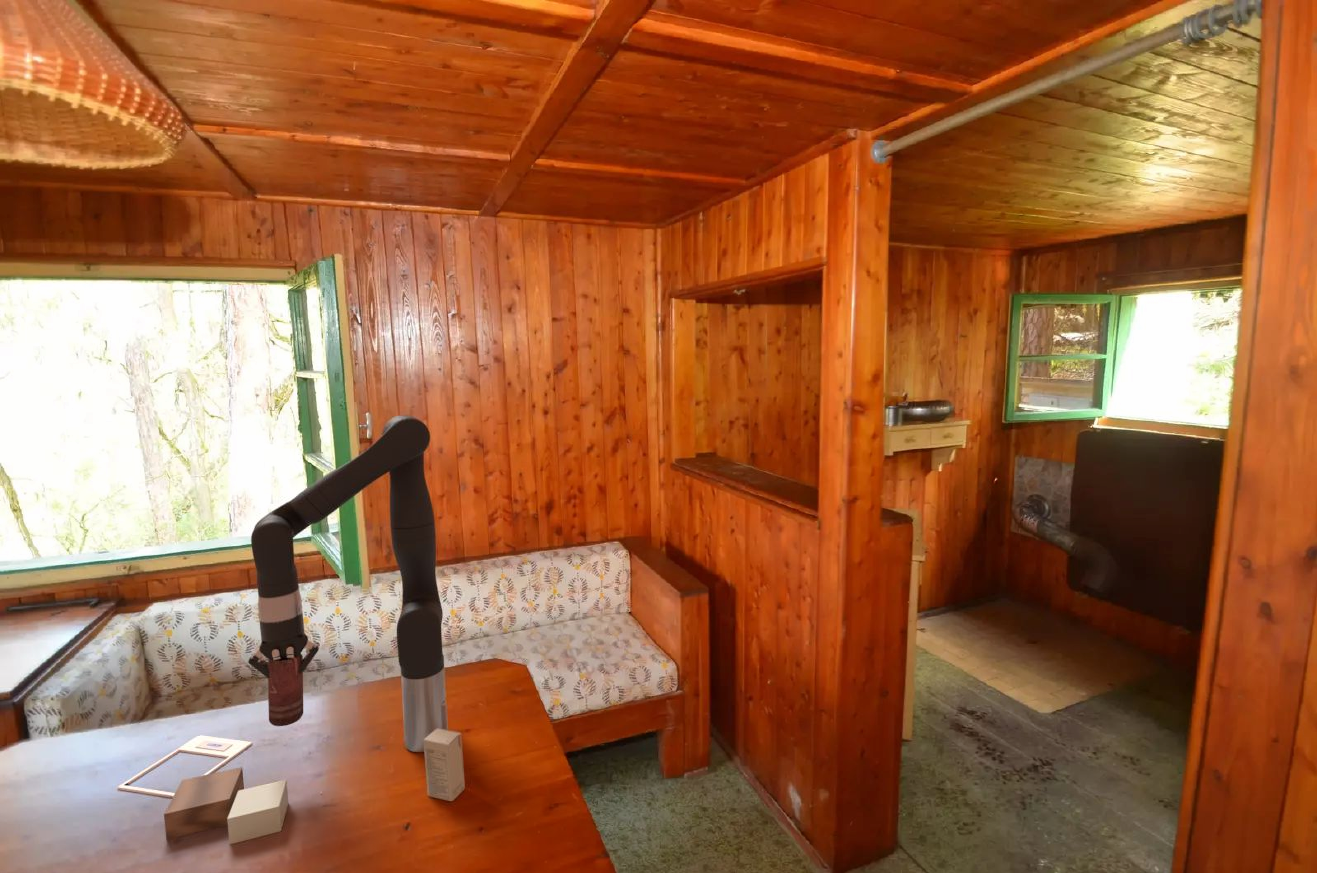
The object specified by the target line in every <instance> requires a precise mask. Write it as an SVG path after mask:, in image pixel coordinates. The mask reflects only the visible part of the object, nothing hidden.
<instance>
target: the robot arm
mask: <svg viewBox="0 0 1317 873" xmlns="http://www.w3.org/2000/svg"><path fill="white" fill-rule="evenodd" d="M430 443H431V433H430V429H429V428H428V426H427V425H426V423H424V422H423V421H422V420H420V419H419V418H417V417H414V416H411V415H407V414H401V415H396V416H394V417H392V418H391V419H389V420H388V421H387V422H386V424H385V425H384V427H383V428H382V433H381V436H379V438H378V439H377V440H376V441H375V442H374V443H373V444H371V445H370V446H369V447H368V448H367V449H365V450H364V451H363V452H361V453H360V454H358V455H357V456H356V457H354V458H352V459H350V460H349V461H348V462H346V463H344V464H342V465H340V466H339V467H337V468H336V469H334V470H332V471H330V472H329V473H327V474H325V475H324V476H322V477H320V478H319V479H317V480H316V481H314V482H313V483H312V484H310V485H309V486H308V487H305V489H304V490H303V491H301V492H300V493H298V494H297V495H296V496H295V497H294V498H293V499H291V500H289V501H287V502H285V503H284V504H282V505H280V506H278V507H277V508H275V509H273V510H272V511H270V512H269V513H267V514H266V515H264V516H263V517H262V518H260V519H259V521H258V522H256V524H255V526H254V527H253V530H252V532H251V536H250V542H251V544H250V545H251V550H252V557H253V560H254V564H255V569H256V583H257V584H256V586H257V594H258V599H257V600H258V603H257V616H258V620H259V630H260V637H261V638H260V640H261V643H260V645H259V647H258V648H259V650H257V651H256V652H255V653H251V655H250V657H249V659H248V661H247V662H248V664H249V665H251V666H252V667H253V668H254V669H255V670H257V671H258V672H259V673H261V674H262V675H263V676H265V677H266V678H267V679H268V678H269V677H270V675H269V669H268V660H274V661H281V660H289V659H292V658H294V657H297V656H299V655H300V653H301V654H302V652H303V650H304V649H305V648H306V649H305V653H306V655H305V656H304V657H303V662H302V663H301V665H300V667H299V673H302V672H303V673H304V672H305V670H306V669H307V667H308V666H309V665H310V663H311V661H312V660H313V659H314V658H315V656H316V655H317V653H318V652H319V651H320V650H319V649H320V647H321V644H320V642H313V641H310V640H309V636H307V634H306V632H305V622H304V612H303V611H304V610H303V600H302V595H301V592H300V586H299V584H300V583H299V575H298V569H297V566H296V564H295V552H294V551H295V550H294V538H295V537H296V536H297V535H299V534H300V533H302V532H303V531H304V530H306V529H307V528H309V527H310V526H311V525H315V524H318V523H320V522H321V521H323V520H324V519H326V518H327V517H328V516H330V515H332V514H333V513H334V512H335V511H337V510H338V509H339V508H341V507H342V506H343V505H345V504H346V503H347V502H349V501H350V500H351V499H352V498H354V497H355V496H357V495H358V494H359V493H360V492H361V491H363V490H364V489H365V488H367V487H368V486H369V485H370V484H372V483H373V482H375V481H376V480H378V479H380V478H381V477H383V476H384V475H386V474H387V473H388V474H389V523H390V537H391V545H392V550H393V554H394V558H395V561H396V564H397V567H398V569H399V572H400V576H401V584H402V585H401V586H402V587H401V588H402V596H401V597H402V603H401V604H402V605H401V611H400V615H399V618H398V621H397V624H396V643H397V655H398V664H399V667H400V677H401V680H400V681H401V698H402V700H401V701H402V715H403V719H402V720H403V734H404V736H403V738H404V747H405V748H406V750H408V751H411V752H414V753H415V752H416V753H423V752H424V742H423V739H424V738H426V737H427V736H428V735H429V734H431V733H432V732H433V731H434V730H436V729H437V728H439V729H445V730H449V728H448V726H449V725H448V711H447V710H448V708H447V704H448V703H447V699H446V698H447V697H446V679H445V678H446V677H445V676H446V675H445V656H444V653H443V640H442V639H443V637H442V636H443V635H442V633H443V632H442V624H443V618H444V617H443V615H444V613H443V607H442V603H441V599H440V594H439V588H438V582H437V576H436V575H437V574H436V566H437V564H436V562H437V538H436V537H437V535H436V533H437V532H436V524H435V514H434V509H433V504H432V498H431V496H430V491H429V489H428V488H429V487H428V485H427V484H428V483H427V481H426V476H425V451H426V450H427V449H428V447H429V445H430ZM290 657H291V658H290ZM265 658H267V659H268V660H265Z"/></svg>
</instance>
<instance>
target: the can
mask: <svg viewBox="0 0 1317 873" xmlns="http://www.w3.org/2000/svg"><path fill="white" fill-rule="evenodd" d="M290 658H291V657H290ZM303 659H304V657H303V654H302V652H301V653H300V655H299V656H297V657H294V658H292V659H289V660H281V661H274V660H269V659H268V660H267V662H268V669H269V675H270V677H269V678H267V688H268V689H267V696H268V699H267V700H268V702H267V703H268V722H269V723H270V724H271V725H272V726H274V727H286V726H289V725H292V724H295V723H297V722H298V721H299V720H301V718H302V716H304V671H303V672H302V673H299V667H300V665H301V663H302V662H303Z"/></svg>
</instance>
